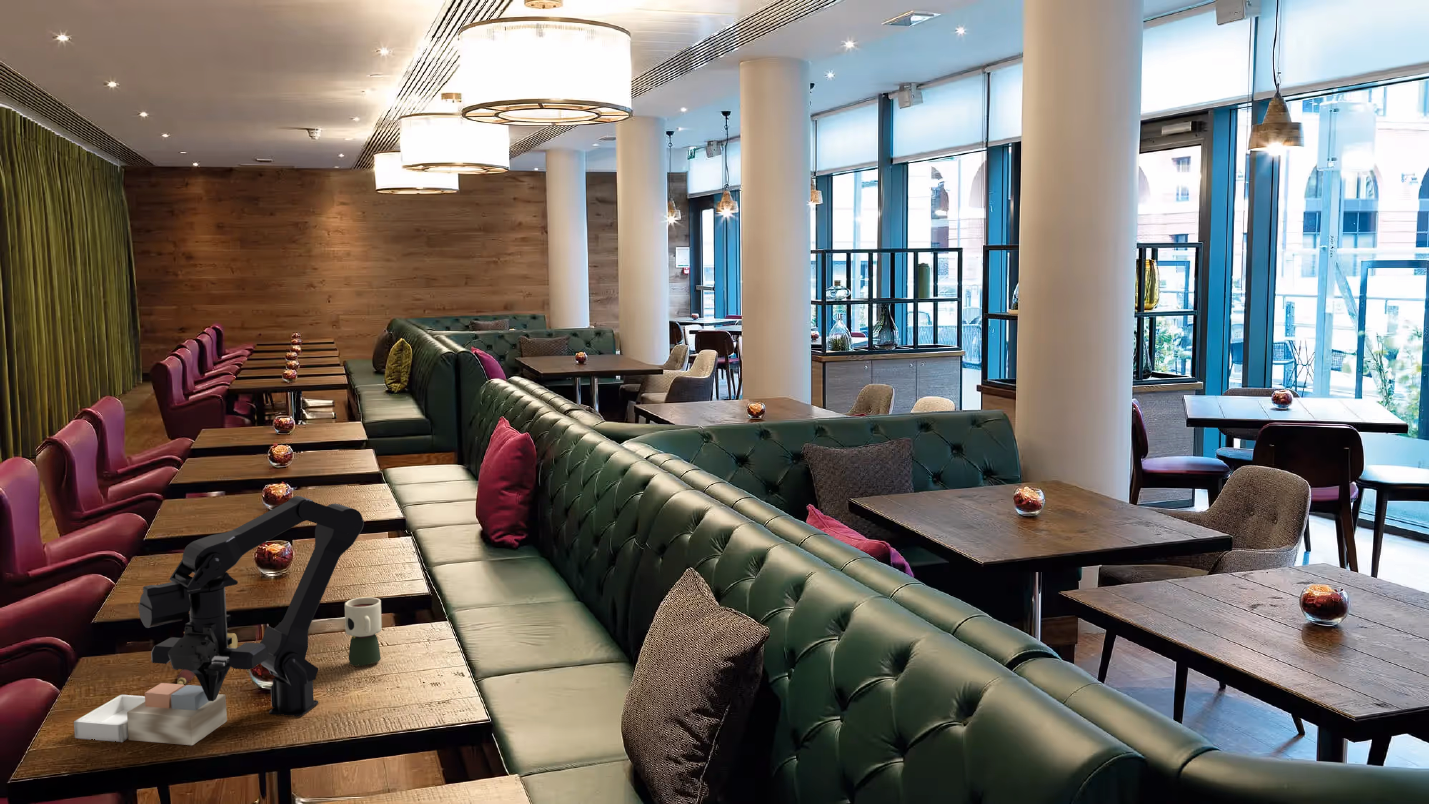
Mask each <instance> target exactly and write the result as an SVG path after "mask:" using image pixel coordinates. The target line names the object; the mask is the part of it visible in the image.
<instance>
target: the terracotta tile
mask: <svg viewBox="0 0 1429 804" xmlns="http://www.w3.org/2000/svg"><path fill="white" fill-rule="evenodd" d="M185 686H186V684H185V685H182V684H177V683H168V682H167V683H166V682H160V683H159V684H157V685H155V686H154V687H152V688H150V689H148V690H147V691H145V692H144V696H145V706H146V707H158V708H170V707H172V704H171V694H173V693H175V692H176V691H178V690H180V689H181V688H183V687H185Z"/></svg>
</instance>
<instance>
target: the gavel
mask: <svg viewBox="0 0 1429 804" xmlns="http://www.w3.org/2000/svg"><path fill="white" fill-rule="evenodd" d="M227 637H229V638H232V644H230V645H228V648H237V647H238V644H239V643H238V637H237V634H236V632H235V633H233V632H232V633H229V632H227ZM194 677H196V675H195V674H194V673H193V672H191V671H189V670H185V669H181V671H180V673H178V675H177V681H176V682H177V683H176V684H182V685H184V684H185V685H187V684H189V683H190V682H191V681H192V680H193V679H194ZM189 681H190V682H189Z"/></svg>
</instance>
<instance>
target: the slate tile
mask: <svg viewBox="0 0 1429 804" xmlns="http://www.w3.org/2000/svg"><path fill="white" fill-rule="evenodd" d="M208 702H209V701H208V699H207V697H206V695H205V693H204V691H203V688H202V686H201V685H193V684H185V687H183V688H181V689H180V690H178V691H176V692H175V693H173V694H171V704H172V709H183V710H197V709H199V708H200V707H202V706H203V705H205V704H206V703H208Z"/></svg>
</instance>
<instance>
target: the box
mask: <svg viewBox="0 0 1429 804" xmlns="http://www.w3.org/2000/svg"><path fill="white" fill-rule="evenodd" d="M143 702H145V695H144V696H143V695H132V694H131V695H130V694H129V695H128V694H120V695H118V696H116V697H115V698H112V699H111V700H110V701H107V702H106V703H104V704H102V705H100V706H98V707H97V708H95V709H93V710H91V711H90V712H88V713H87V714H85V715H83V716H81V717H79V718H77V719H76V720H74V721H73V729H74V731H73V732H74V738H75V739H80V740H91V739H93V740H94V739H95V740H94V741H104V742H105V741H106V742H115V741H116V743H123V742H124V741H126V740H129V736H128V720H127V712H128V711H130V710H132V709H133V708H135V707H137V706H138V705H140V704H142V703H143ZM93 740H92V741H93Z"/></svg>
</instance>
